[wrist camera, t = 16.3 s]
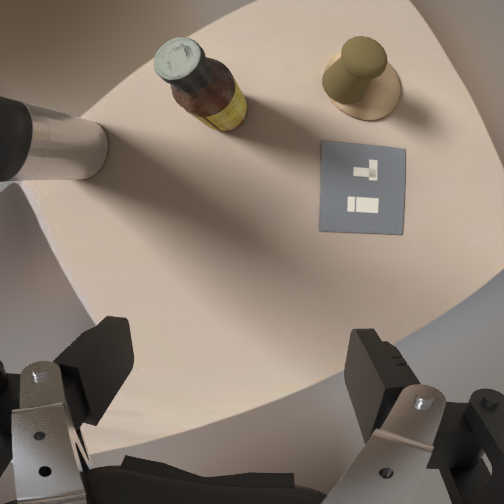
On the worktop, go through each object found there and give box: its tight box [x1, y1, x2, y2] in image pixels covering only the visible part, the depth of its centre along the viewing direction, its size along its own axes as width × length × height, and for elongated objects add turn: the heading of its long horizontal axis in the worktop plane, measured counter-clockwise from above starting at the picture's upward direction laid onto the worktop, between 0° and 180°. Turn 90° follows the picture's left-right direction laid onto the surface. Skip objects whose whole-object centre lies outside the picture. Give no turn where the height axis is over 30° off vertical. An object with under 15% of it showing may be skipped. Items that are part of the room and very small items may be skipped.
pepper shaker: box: [322, 36, 388, 104], centre depth 32 cm, size 6×6×11 cm
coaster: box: [325, 51, 400, 120], centre depth 38 cm, size 11×11×1 cm
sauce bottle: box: [154, 37, 247, 132], centre depth 31 cm, size 6×6×20 cm
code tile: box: [319, 141, 405, 235], centre depth 41 cm, size 12×12×1 cm
